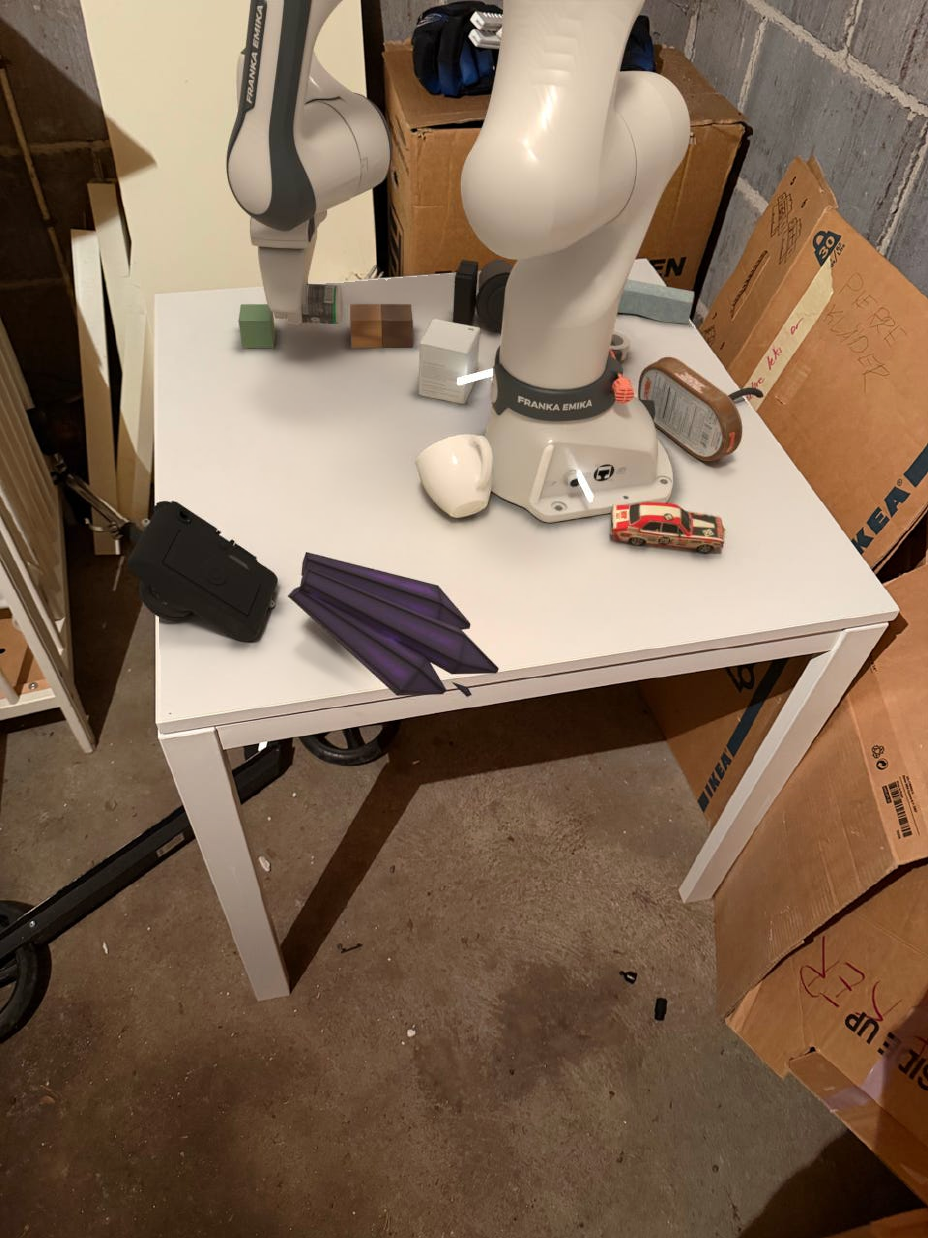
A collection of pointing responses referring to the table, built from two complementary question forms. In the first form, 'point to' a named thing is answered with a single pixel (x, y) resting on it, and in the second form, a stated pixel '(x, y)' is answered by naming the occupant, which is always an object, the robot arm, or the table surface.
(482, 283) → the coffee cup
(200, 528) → the camera
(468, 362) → the product box
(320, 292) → the pill bottle
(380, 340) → the block beech
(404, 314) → the block walnut
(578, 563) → the table surface
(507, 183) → the robot arm
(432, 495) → the cup
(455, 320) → the ink cartridge
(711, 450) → the tin
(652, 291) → the light blue foam bar
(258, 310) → the block sage
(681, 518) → the race car
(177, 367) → the table surface
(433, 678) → the crystal
